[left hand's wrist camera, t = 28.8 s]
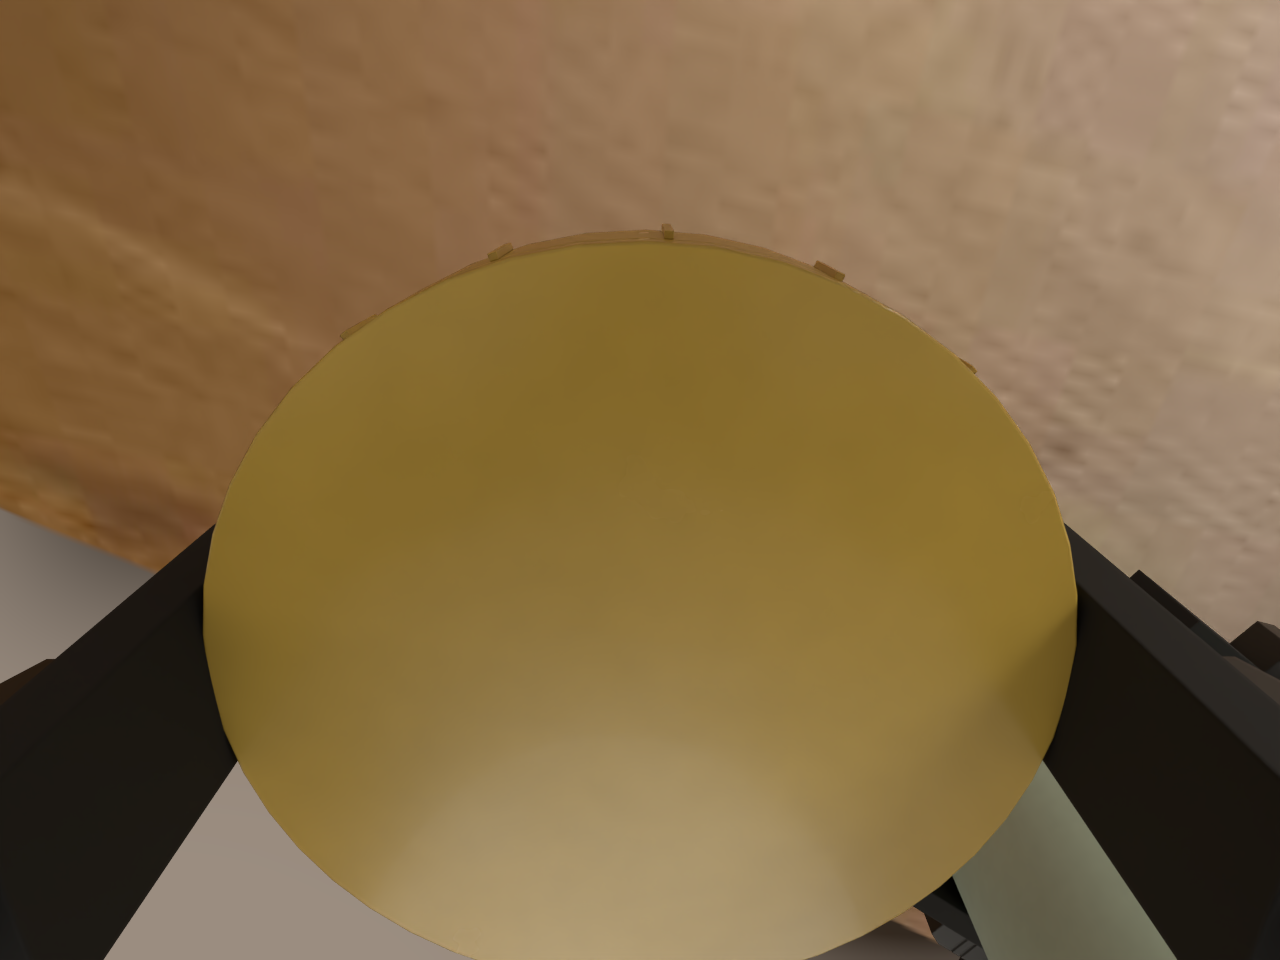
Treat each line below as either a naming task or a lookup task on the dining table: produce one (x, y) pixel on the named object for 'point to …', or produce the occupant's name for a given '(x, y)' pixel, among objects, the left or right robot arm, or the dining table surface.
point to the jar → (1053, 888)
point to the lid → (640, 607)
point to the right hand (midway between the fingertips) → (1007, 731)
